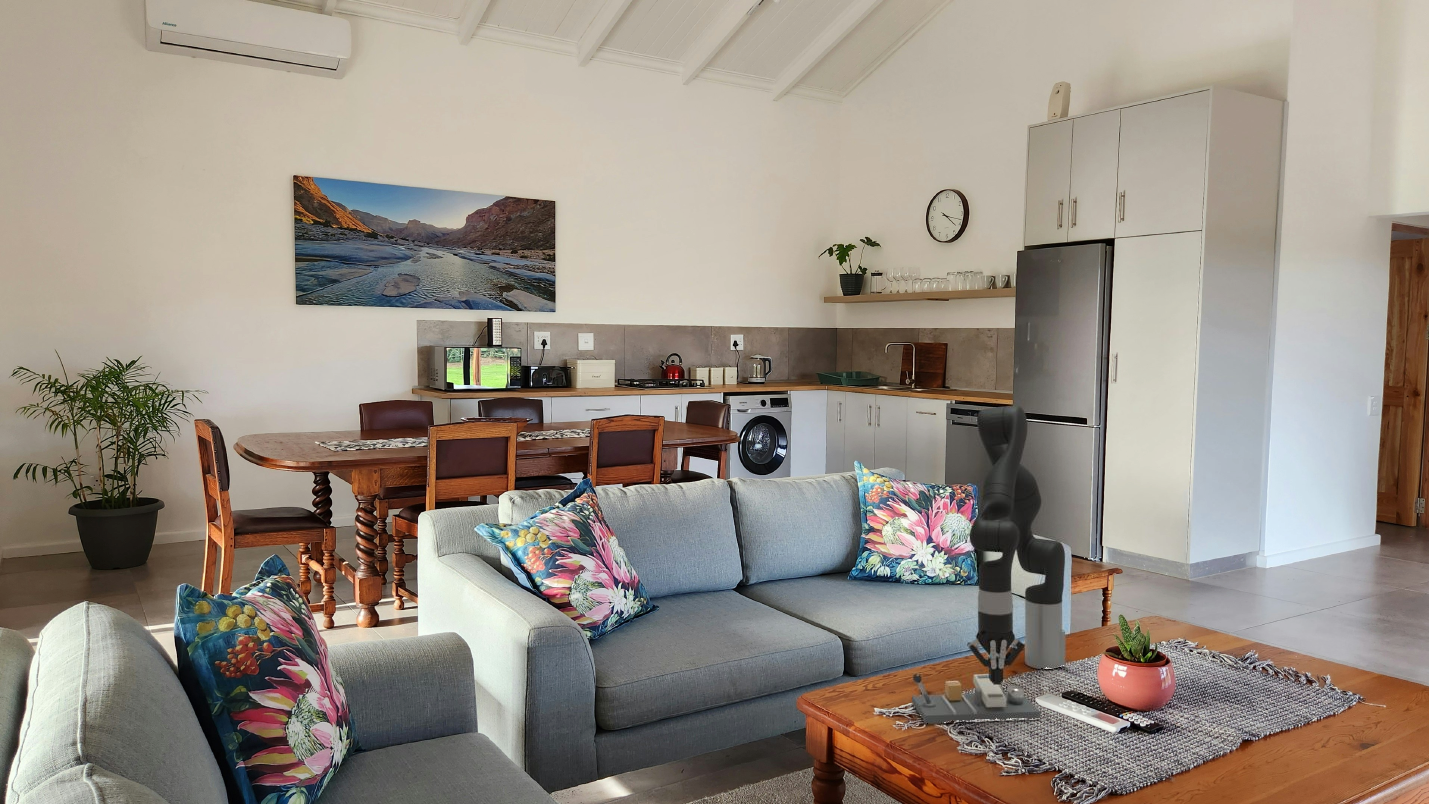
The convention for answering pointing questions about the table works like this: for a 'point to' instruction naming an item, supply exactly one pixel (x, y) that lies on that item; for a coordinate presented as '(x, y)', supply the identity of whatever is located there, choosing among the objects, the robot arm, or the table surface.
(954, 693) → the slider
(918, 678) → the toggle
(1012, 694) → the button
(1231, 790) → the table surface
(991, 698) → the block
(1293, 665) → the table surface
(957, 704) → the panel
